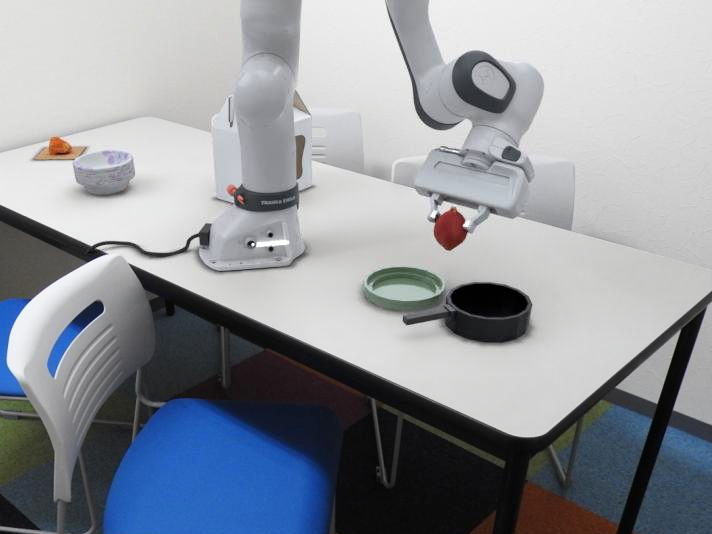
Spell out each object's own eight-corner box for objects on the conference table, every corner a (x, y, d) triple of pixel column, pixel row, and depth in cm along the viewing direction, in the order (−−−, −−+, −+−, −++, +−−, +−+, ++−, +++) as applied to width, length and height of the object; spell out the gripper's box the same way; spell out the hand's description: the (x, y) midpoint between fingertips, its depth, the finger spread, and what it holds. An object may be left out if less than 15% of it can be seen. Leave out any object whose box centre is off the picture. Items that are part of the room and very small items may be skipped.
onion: (428, 244, 138) (432, 200, 134) (459, 242, 139) (465, 199, 134) (436, 257, 133) (441, 213, 129) (468, 256, 134) (475, 211, 129)
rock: (76, 159, 222) (73, 144, 220) (34, 160, 223) (31, 145, 220) (86, 147, 232) (83, 132, 230) (45, 147, 232) (42, 133, 230)
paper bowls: (65, 195, 197) (59, 164, 193) (98, 177, 209) (94, 147, 204) (116, 202, 192) (112, 170, 188) (147, 183, 204) (144, 152, 199)
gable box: (253, 210, 186) (248, 87, 170) (215, 198, 193) (206, 79, 177) (312, 186, 199) (313, 69, 183) (274, 175, 207) (271, 63, 191)
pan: (498, 298, 145) (501, 276, 143) (544, 333, 134) (548, 310, 131) (385, 320, 139) (386, 297, 136) (423, 359, 128) (425, 335, 125)
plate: (384, 319, 139) (385, 306, 138) (350, 284, 151) (351, 273, 150) (459, 304, 143) (460, 292, 142) (420, 272, 155) (421, 260, 154)
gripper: (428, 134, 137) (392, 203, 136) (536, 156, 125) (497, 232, 125) (439, 154, 142) (405, 220, 141) (544, 177, 130) (506, 249, 130)
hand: (449, 226), depth 133 cm, fingers closed on onion, 5 cm apart
